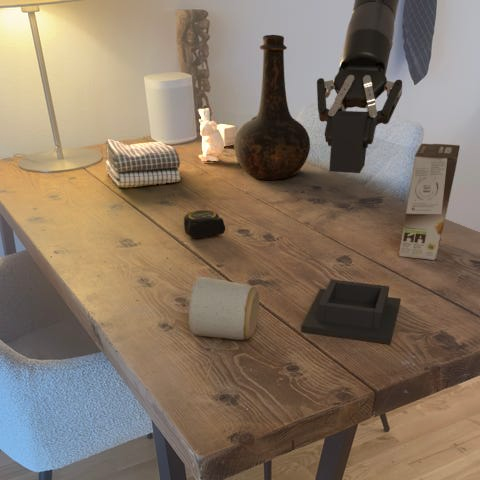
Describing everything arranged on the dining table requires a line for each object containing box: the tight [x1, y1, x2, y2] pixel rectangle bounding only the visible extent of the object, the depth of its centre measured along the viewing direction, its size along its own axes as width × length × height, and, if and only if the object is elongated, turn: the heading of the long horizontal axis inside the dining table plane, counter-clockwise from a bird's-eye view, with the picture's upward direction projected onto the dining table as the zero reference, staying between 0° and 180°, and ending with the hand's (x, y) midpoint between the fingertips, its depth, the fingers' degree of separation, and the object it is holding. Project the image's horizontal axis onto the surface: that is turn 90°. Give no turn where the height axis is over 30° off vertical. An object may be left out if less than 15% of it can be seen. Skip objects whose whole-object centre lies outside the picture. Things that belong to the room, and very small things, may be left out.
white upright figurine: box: [197, 107, 225, 162], centre depth 144 cm, size 8×7×12 cm
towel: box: [105, 138, 182, 189], centre depth 134 cm, size 15×18×8 cm
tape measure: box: [183, 209, 226, 239], centre depth 105 cm, size 7×7×4 cm
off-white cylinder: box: [188, 276, 260, 341], centre depth 76 cm, size 11×8×8 cm
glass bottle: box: [233, 34, 311, 181], centre depth 128 cm, size 18×18×28 cm
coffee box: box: [398, 143, 461, 261], centre depth 94 cm, size 9×6×16 cm
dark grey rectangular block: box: [328, 110, 369, 174], centre depth 91 cm, size 5×5×8 cm
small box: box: [217, 123, 238, 146], centre depth 160 cm, size 6×6×5 cm
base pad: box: [300, 278, 402, 346], centre depth 79 cm, size 12×12×4 cm
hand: (347, 143), depth 90 cm, fingers closed on dark grey rectangular block, 5 cm apart
